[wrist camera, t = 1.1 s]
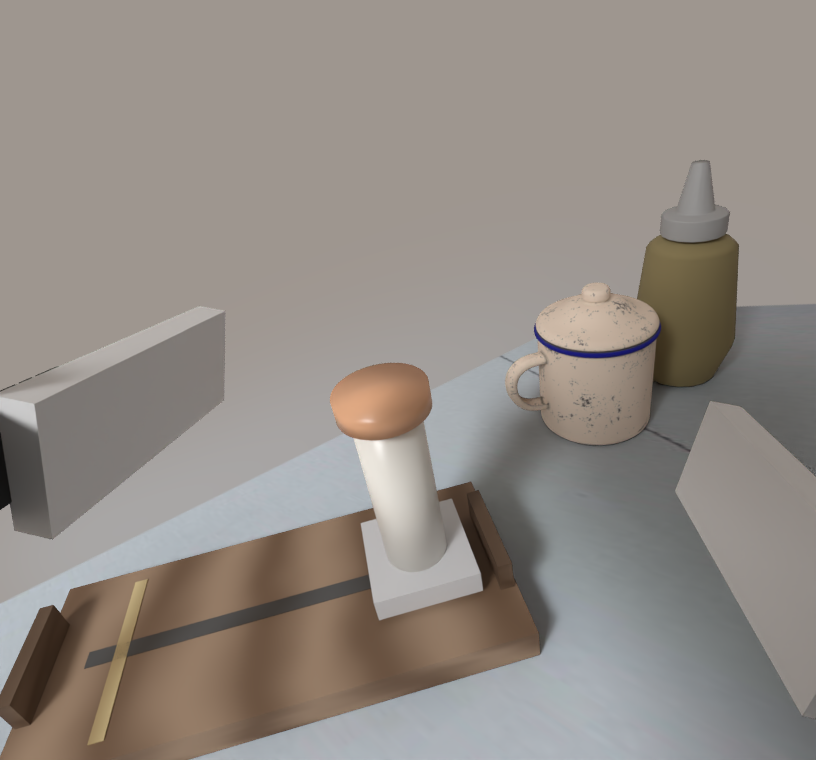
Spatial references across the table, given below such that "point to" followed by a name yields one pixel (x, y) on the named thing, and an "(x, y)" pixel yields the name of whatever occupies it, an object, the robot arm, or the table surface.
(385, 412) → the fader
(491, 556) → the fader track
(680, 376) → the squeeze bottle
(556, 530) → the table surface
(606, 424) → the teacup with lid
